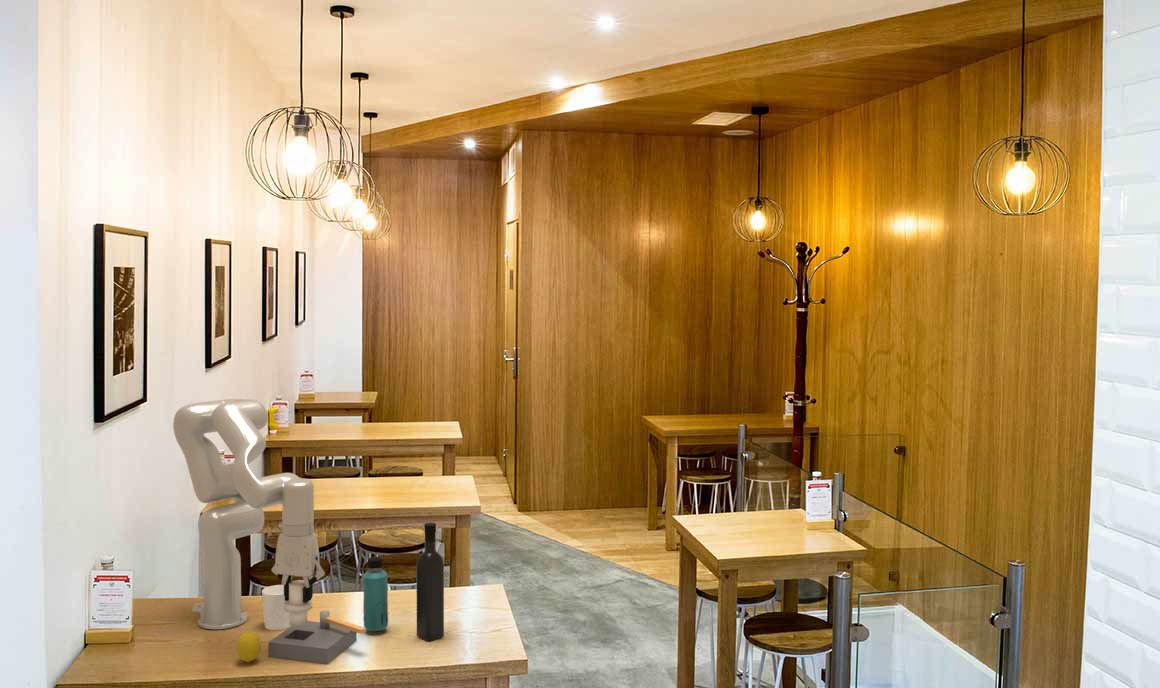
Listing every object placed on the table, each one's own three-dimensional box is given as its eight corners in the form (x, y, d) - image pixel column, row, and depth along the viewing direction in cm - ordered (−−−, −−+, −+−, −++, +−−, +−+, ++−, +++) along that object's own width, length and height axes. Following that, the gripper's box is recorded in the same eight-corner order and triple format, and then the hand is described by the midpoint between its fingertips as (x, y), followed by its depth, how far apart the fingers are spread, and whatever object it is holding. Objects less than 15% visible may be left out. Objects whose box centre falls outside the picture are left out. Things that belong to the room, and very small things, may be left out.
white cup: (299, 623, 254) (299, 587, 253) (278, 633, 247) (278, 596, 246) (277, 618, 257) (276, 583, 256) (256, 628, 250) (255, 591, 249)
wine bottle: (414, 636, 246) (414, 523, 244) (432, 630, 250) (432, 519, 248) (428, 642, 242) (428, 528, 240) (445, 636, 246) (445, 524, 244)
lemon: (240, 658, 231) (239, 626, 230) (263, 658, 231) (262, 626, 231) (234, 668, 225) (233, 635, 225) (257, 667, 226) (257, 635, 225)
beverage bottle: (382, 637, 245) (382, 562, 243) (358, 635, 246) (358, 560, 245) (392, 628, 251) (392, 555, 250) (369, 626, 253) (368, 553, 251)
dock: (268, 657, 232) (268, 642, 231) (300, 634, 246) (300, 620, 246) (327, 664, 228) (327, 648, 228) (356, 641, 242) (356, 626, 242)
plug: (278, 626, 233) (278, 586, 233) (293, 616, 240) (293, 577, 239) (303, 629, 232) (303, 589, 231) (317, 619, 238) (317, 580, 238)
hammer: (367, 638, 234) (367, 623, 234) (359, 641, 232) (359, 626, 232) (325, 624, 243) (325, 610, 243) (317, 627, 241) (317, 612, 241)
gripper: (259, 529, 232) (259, 601, 234) (321, 536, 228) (321, 609, 230) (275, 521, 239) (276, 591, 241) (336, 527, 235) (336, 598, 237)
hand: (298, 599), depth 235 cm, fingers closed on plug, 4 cm apart
